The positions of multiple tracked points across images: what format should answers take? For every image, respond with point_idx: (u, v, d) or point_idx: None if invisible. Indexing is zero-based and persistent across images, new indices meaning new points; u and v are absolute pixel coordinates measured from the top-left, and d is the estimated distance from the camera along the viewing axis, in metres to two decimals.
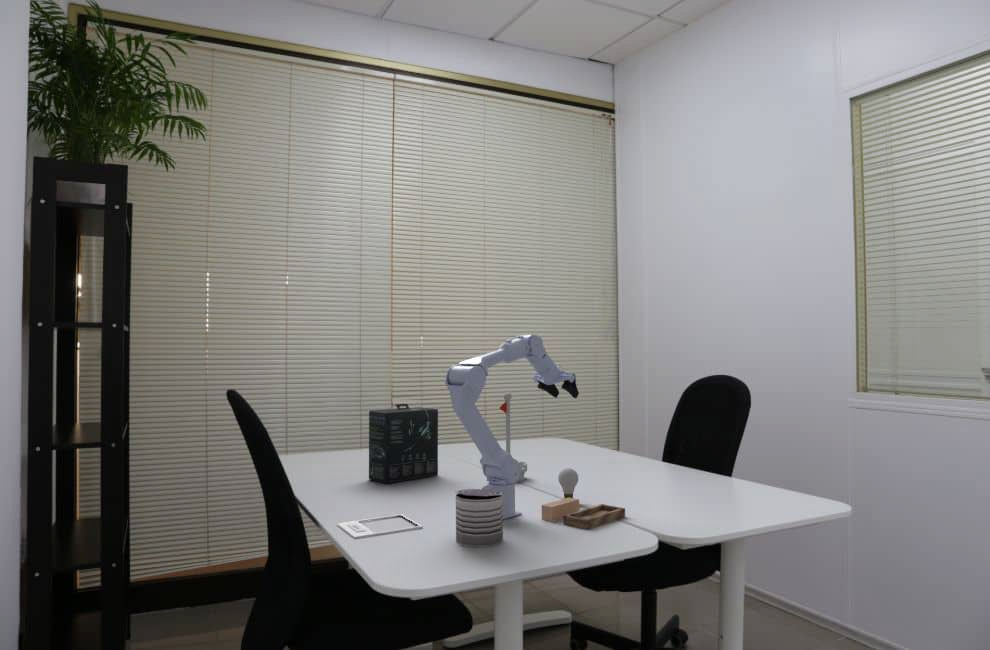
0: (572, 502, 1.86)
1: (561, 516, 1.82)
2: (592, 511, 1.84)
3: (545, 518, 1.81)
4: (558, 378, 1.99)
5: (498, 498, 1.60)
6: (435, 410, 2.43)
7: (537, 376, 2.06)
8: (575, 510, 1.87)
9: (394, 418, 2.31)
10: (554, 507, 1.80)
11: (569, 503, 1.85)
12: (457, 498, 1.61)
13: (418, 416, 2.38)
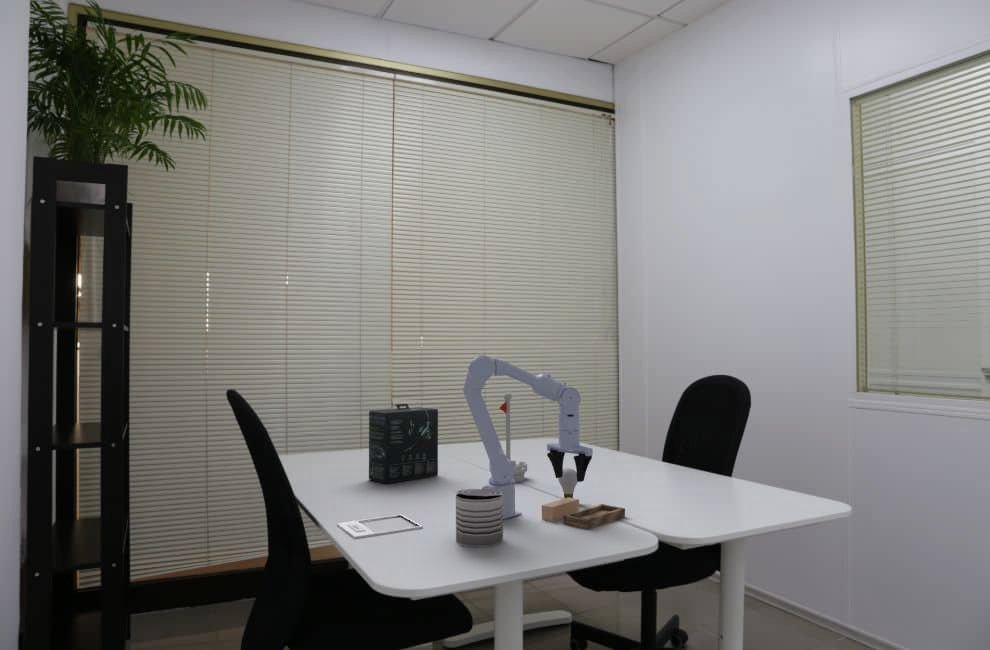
0: (572, 502, 1.86)
1: (561, 516, 1.82)
2: (592, 511, 1.84)
3: (545, 518, 1.81)
4: (575, 448, 1.85)
5: (498, 498, 1.60)
6: (435, 410, 2.43)
7: (552, 444, 1.92)
8: (575, 510, 1.87)
9: (394, 418, 2.31)
10: (554, 507, 1.80)
11: (569, 503, 1.85)
12: (457, 498, 1.61)
13: (418, 416, 2.38)
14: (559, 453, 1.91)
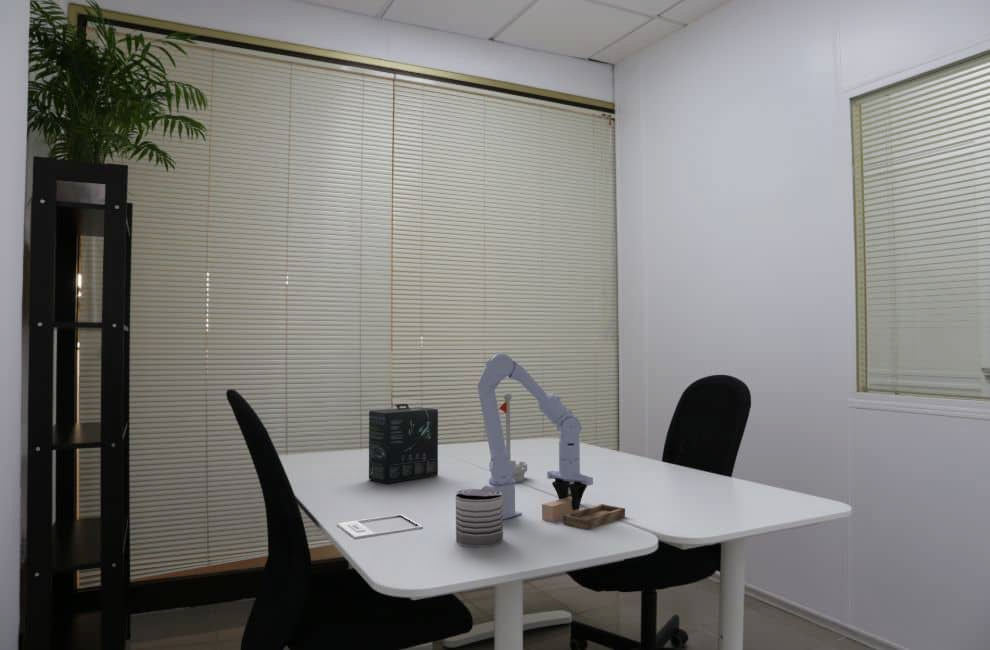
0: None
1: (561, 515, 1.82)
2: (592, 511, 1.84)
3: (545, 517, 1.81)
4: (575, 477, 1.85)
5: (498, 498, 1.60)
6: (435, 410, 2.43)
7: (553, 472, 1.92)
8: None
9: (394, 418, 2.31)
10: (554, 506, 1.80)
11: (569, 502, 1.85)
12: (457, 498, 1.61)
13: (418, 416, 2.38)
14: (564, 482, 1.89)
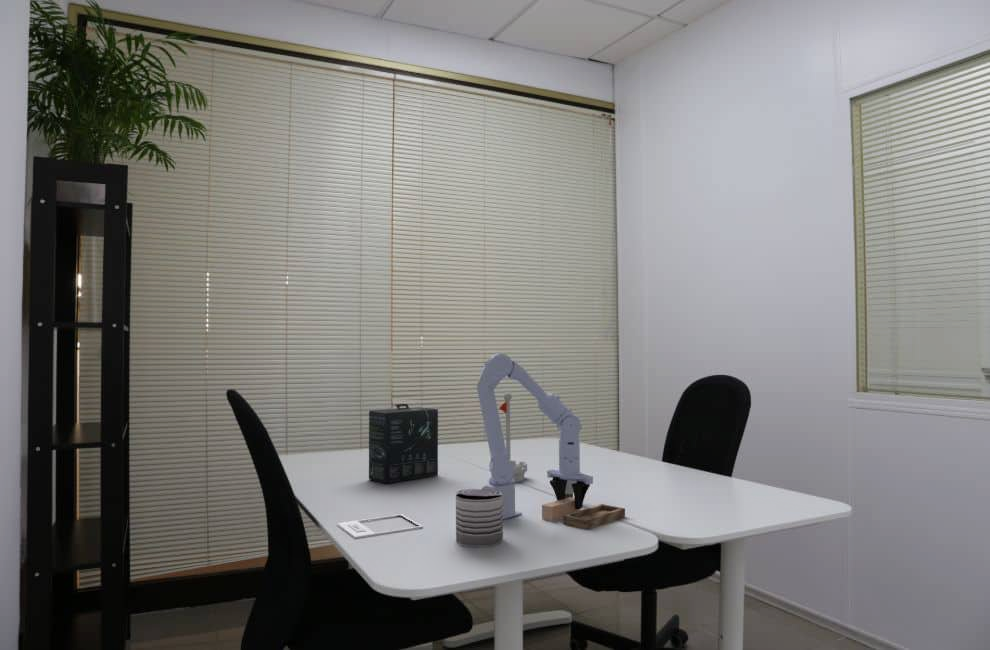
0: (573, 502, 1.86)
1: (561, 516, 1.82)
2: (592, 511, 1.84)
3: (545, 518, 1.81)
4: (575, 476, 1.85)
5: (498, 498, 1.60)
6: (435, 410, 2.43)
7: (553, 471, 1.92)
8: (576, 510, 1.87)
9: (394, 418, 2.31)
10: (554, 507, 1.80)
11: (570, 503, 1.85)
12: (457, 498, 1.61)
13: (418, 416, 2.38)
14: (562, 480, 1.90)
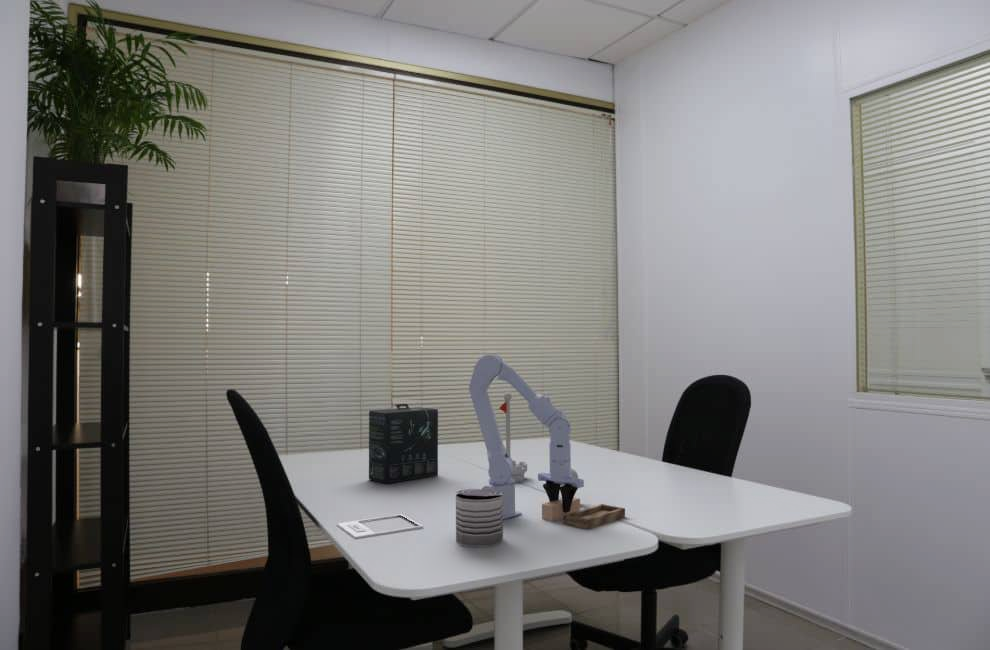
0: (573, 501, 1.86)
1: (561, 515, 1.82)
2: (592, 511, 1.84)
3: (545, 517, 1.81)
4: (566, 479, 1.82)
5: (498, 498, 1.60)
6: (435, 410, 2.43)
7: (543, 474, 1.89)
8: (576, 509, 1.87)
9: (394, 418, 2.31)
10: (554, 506, 1.80)
11: None
12: (457, 498, 1.61)
13: (418, 416, 2.38)
14: (555, 484, 1.87)
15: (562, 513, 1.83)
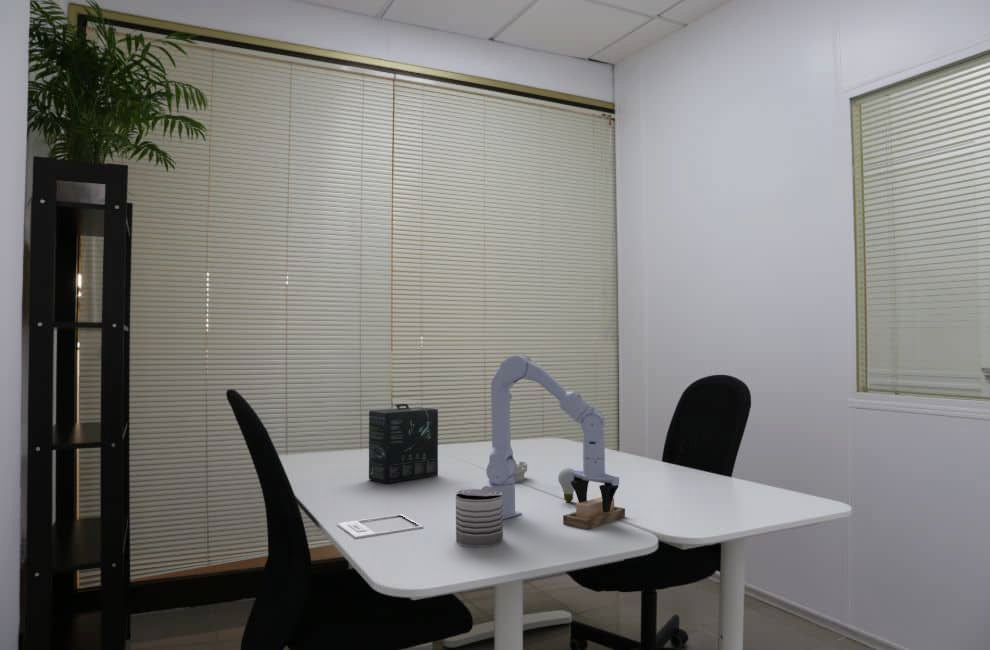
0: None
1: (596, 515, 1.78)
2: None
3: (580, 517, 1.76)
4: (601, 477, 1.77)
5: (498, 498, 1.60)
6: (435, 410, 2.43)
7: (576, 472, 1.84)
8: (610, 509, 1.82)
9: (394, 418, 2.31)
10: (589, 506, 1.76)
11: None
12: (457, 498, 1.61)
13: (418, 416, 2.38)
14: (583, 481, 1.83)
15: (597, 513, 1.78)
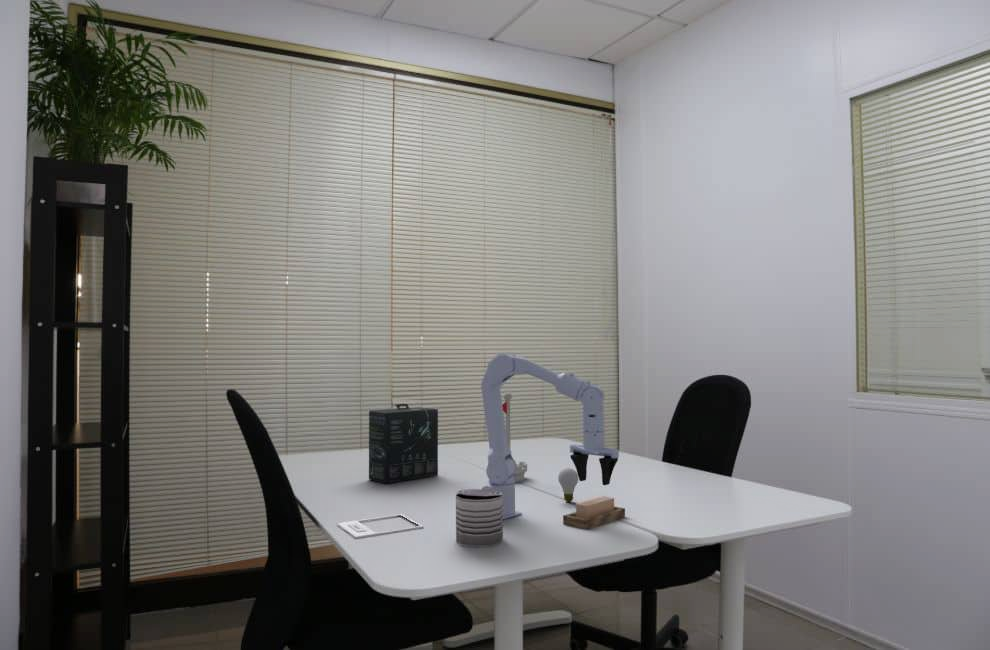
0: (607, 501, 1.81)
1: (596, 515, 1.78)
2: None
3: (580, 517, 1.76)
4: (600, 450, 1.78)
5: (498, 498, 1.60)
6: (435, 410, 2.43)
7: (576, 446, 1.84)
8: (610, 509, 1.82)
9: (394, 418, 2.31)
10: (589, 506, 1.76)
11: (604, 502, 1.80)
12: (457, 498, 1.61)
13: (418, 415, 2.38)
14: (583, 455, 1.83)
15: (597, 513, 1.78)
